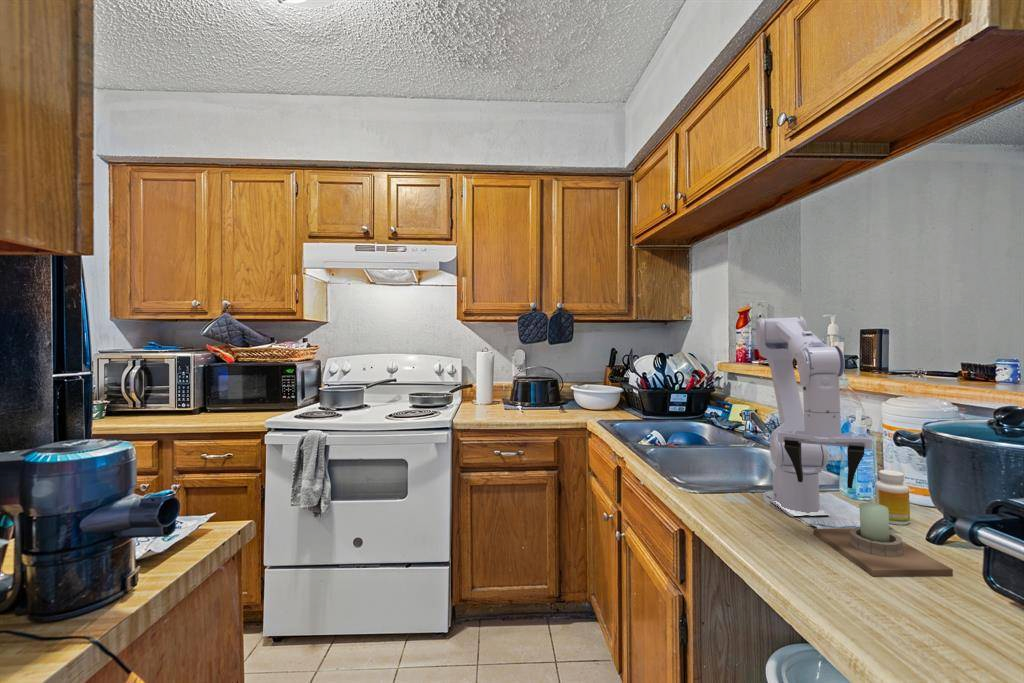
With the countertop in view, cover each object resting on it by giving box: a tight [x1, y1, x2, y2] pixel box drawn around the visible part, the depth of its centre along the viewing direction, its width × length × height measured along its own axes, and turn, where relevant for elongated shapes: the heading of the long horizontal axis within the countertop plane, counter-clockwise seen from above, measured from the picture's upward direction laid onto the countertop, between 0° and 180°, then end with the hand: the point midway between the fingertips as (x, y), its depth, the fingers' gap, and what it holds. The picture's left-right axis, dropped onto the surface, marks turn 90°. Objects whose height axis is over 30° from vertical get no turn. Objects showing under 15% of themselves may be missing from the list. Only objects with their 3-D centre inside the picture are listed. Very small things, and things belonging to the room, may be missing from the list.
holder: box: [812, 526, 954, 578], centre depth 82 cm, size 16×12×3 cm
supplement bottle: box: [874, 469, 911, 526], centre depth 95 cm, size 5×5×10 cm
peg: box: [858, 502, 890, 543], centre depth 82 cm, size 4×4×7 cm
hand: (824, 483), depth 87 cm, fingers open, 7 cm apart
